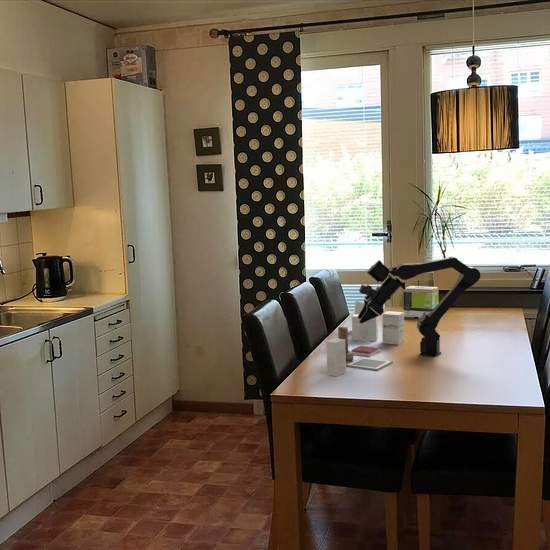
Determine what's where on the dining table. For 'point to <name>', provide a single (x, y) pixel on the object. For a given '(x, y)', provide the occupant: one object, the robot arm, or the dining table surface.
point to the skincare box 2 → (364, 329)
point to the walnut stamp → (344, 335)
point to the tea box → (419, 300)
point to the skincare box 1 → (336, 357)
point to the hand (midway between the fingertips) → (359, 320)
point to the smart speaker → (358, 307)
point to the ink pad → (365, 351)
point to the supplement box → (393, 327)
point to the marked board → (369, 364)
